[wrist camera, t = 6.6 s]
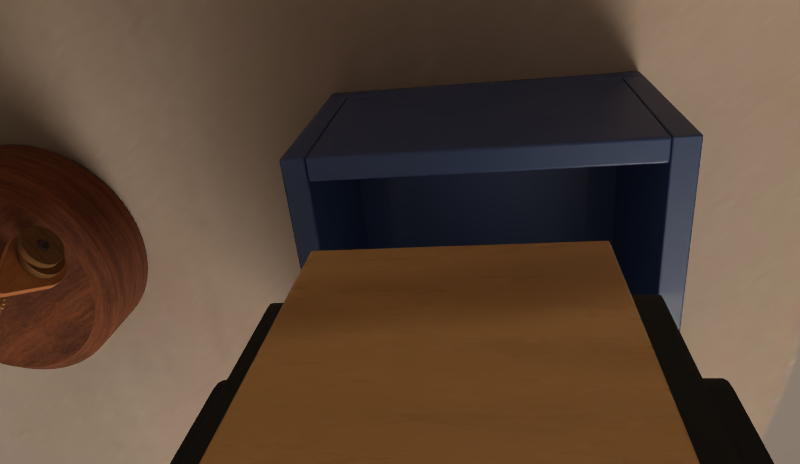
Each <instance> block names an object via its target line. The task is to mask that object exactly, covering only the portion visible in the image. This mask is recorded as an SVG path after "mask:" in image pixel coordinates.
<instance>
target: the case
mask: <svg viewBox="0 0 800 464" xmlns="http://www.w3.org/2000/svg"><path fill="white" fill-rule="evenodd" d="M702 141H703V135H702V134H701V133H700V132H699V131H698V130H697V129H696V128H695V127H694V126H693V125H692V124H691V123H690V122H689V121H688V120H687V119H686V118H685V117H684V116H683V115H682V114H681V113H680V112H679V111H678V110H677V109H676V108H675V107H674V106H673V105H672V104H671V103H670V102H669V101H668V100H667V99H666V98H665V97H664V96H663V95H662V94H661V93H660V92H659V91H658V90H657V89H656V88H655V87H654V86H653V85H652V84H651V83H650V82H649V81H648V80H647V79H646V78H645V77H644V76H643V75H642V74H641V73H640V72H639V71H634V72H621V73H607V74H593V75H580V76H566V77H552V78H539V79H525V80H512V81H498V82H484V83H471V84H457V85H444V86H430V87H416V88H403V89H389V90H375V91H362V92H348V93H335V94H332V95H331V97H330V98H329V99H328V101H327V102H326V103H325V104H324V106H323V107H322V108H321V109H320V110H319V112H318V113H317V114H316V115H315V117H314V118H313V119H312V120H311V122H310V123H309V124H308V125H307V127H306V128H305V129H304V130H303V132H302V133H301V134H300V135H299V136H298V138H297V139H296V140H295V141H294V143H293V144H292V145H291V146H290V148H289V149H288V150H287V151H286V153H285V154H284V155H283V156H282V157H281V159H280V166H281V171H282V177H283V182H284V187H285V192H286V197H287V202H288V207H289V212H290V217H291V222H292V227H293V232H294V237H295V242H296V247H297V252H298V257H299V262H300V267H301V269H302V268H303V266H304V264H305V262H306V260H307V258H308V256H309V254H310V252H312V251H327V250H356V249H384V248H412V247H441V246H469V245H497V244H526V243H554V242H582V241H609V242H610V244H611V246H612V249H613V251H614V254H615V256H616V259H617V261H618V264H619V266H620V268H621V271H622V273H623V276H624V278H625V281H626V283H627V286H628V288H629V291H630V293H631V295H661V296H662V297H663V299H664V301H665V303H666V305H667V307H668V309H669V311H670V313H671V315H672V317H673V319H674V321H675V323H676V325H677V327H678V330H679V332H680V325H681V317H682V308H683V300H684V292H685V283H686V275H687V267H688V258H689V250H690V241H691V233H692V225H693V216H694V208H695V199H696V191H697V183H698V174H699V166H700V158H701V149H702Z"/></svg>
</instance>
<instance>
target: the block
mask: <svg viewBox="0 0 800 464" xmlns="http://www.w3.org/2000/svg"><path fill="white" fill-rule="evenodd" d="M199 464H700V463H699V460H698V458H697V455H696V453H695V450H694V448H693V445H692V443H691V441H690V438H689V436H688V433H687V431H686V428H685V426H684V423H683V421H682V418H681V416H680V413H679V411H678V409H677V406H676V404H675V401H674V399H673V396H672V394H671V391H670V389H669V386H668V384H667V382H666V379H665V377H664V374H663V372H662V369H661V367H660V364H659V362H658V359H657V357H656V354H655V352H654V350H653V347H652V345H651V342H650V340H649V337H648V335H647V332H646V330H645V327H644V325H643V323H642V320H641V318H640V315H639V313H638V310H637V308H636V305H635V303H634V300H633V298H632V295H631V293H630V291H629V288H628V286H627V283H626V281H625V278H624V276H623V273H622V271H621V268H620V266H619V264H618V261H617V259H616V256H615V254H614V251H613V249H612V246H611V244H610V242H609V241H582V242H554V243H526V244H497V245H469V246H441V247H412V248H384V249H356V250H327V251H312V252H310V254H309V256H308V258H307V260H306V262H305V264H304V266H303V268H302V269H301V271H300V273H299V275H298V277H297V279H296V281H295V283H294V285H293V287H292V288H291V290H290V292H289V294H288V296H287V298H286V300H285V302H284V304H283V306H282V307H281V309H280V311H279V313H278V315H277V317H276V319H275V321H274V323H273V325H272V326H271V328H270V330H269V332H268V334H267V336H266V338H265V340H264V342H263V343H262V345H261V347H260V349H259V351H258V353H257V355H256V357H255V359H254V361H253V362H252V364H251V366H250V368H249V370H248V372H247V374H246V376H245V378H244V380H243V381H242V383H241V385H240V387H239V389H238V391H237V393H236V395H235V397H234V399H233V400H232V402H231V404H230V406H229V408H228V410H227V412H226V414H225V416H224V417H223V419H222V421H221V423H220V425H219V427H218V429H217V431H216V433H215V435H214V436H213V438H212V440H211V442H210V444H209V446H208V448H207V450H206V452H205V454H204V455H203V457H202V459H201V461H200V463H199Z"/></svg>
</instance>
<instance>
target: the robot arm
mask: <svg viewBox="0 0 800 464" xmlns="http://www.w3.org/2000/svg"><path fill="white" fill-rule="evenodd" d="M632 298H633V300H634V303H635V305H636V308H637V310H638V313H639V315H640V318H641V320H642V323H643V325H644V327H645V330H646V332H647V335H648V337H649V340H650V342H651V345H652V347H653V350H654V352H655V354H656V357H657V359H658V362H659V364H660V367H661V369H662V372H663V374H664V377H665V379H666V382H667V384H668V386H669V389H670V391H671V394H672V396H673V399H674V401H675V404H676V406H677V409H678V411H679V413H680V416H681V418H682V421H683V423H684V426H685V428H686V431H687V433H688V436H689V438H690V441H691V443H692V445H693V448H694V450H695V453H696V455H697V458H698V460H699V463H700V464H774V463H773V461H772V459H771V457H770V455H769V453H768V451H767V450H766V448H765V446H764V444H763V442H762V440H761V439H760V437H759V435H758V433H757V431H756V429H755V428H754V426H753V424H752V422H751V420H750V418H749V417H748V415H747V413H746V411H745V409H744V407H743V406H742V404H741V402H740V400H739V398H738V396H737V394H736V393H735V391H734V389H733V387H732V386H731V385H730V383H729V382H728V381H727V380H725V379H723V378H702V377H701V375H700V373H699V371H698V368H697V366H696V364H695V362H694V360H693V358H692V356H691V354H690V352H689V350H688V348H687V346H686V344H685V342H684V340H683V338H682V336H681V334H680V332H679V330H678V327H677V325H676V323H675V321H674V319H673V317H672V315H671V313H670V311H669V309H668V307H667V305H666V303H665V301H664V299H663V297H662V296H661V295H632ZM283 304H284V303H273V304H270V305H269V307H268V308H267V310H266V312H265V314H264V315H263V317H262V319H261V321H260V322H259V324H258V326H257V328H256V330H255V331H254V333H253V335H252V337H251V338H250V340H249V342H248V344H247V345H246V347H245V349H244V351H243V353H242V354H241V356H240V358H239V360H238V361H237V363H236V365H235V367H234V369H233V370H232V372H231V374H230V376H229V377H228V379H227V380H223V381H221V382H219V383H218V384H217V385H216V387H215V388H214V389H213V391H212V392H211V394H210V396H209V398H208V399H207V401H206V403H205V404H204V406H203V408H202V410H201V411H200V413H199V415H198V417H197V418H196V420H195V422H194V423H193V425H192V427H191V429H190V430H189V432H188V434H187V435H186V437H185V439H184V441H183V442H182V444H181V446H180V448H179V449H178V451H177V453H176V454H175V456H174V458H173V460H172V461H171V463H170V464H199V463H200V461H201V459H202V457H203V455H204V454H205V452H206V450H207V448H208V446H209V444H210V442H211V440H212V438H213V436H214V435H215V433H216V431H217V429H218V427H219V425H220V423H221V421H222V419H223V417H224V416H225V414H226V412H227V410H228V408H229V406H230V404H231V402H232V400H233V399H234V397H235V395H236V393H237V391H238V389H239V387H240V385H241V383H242V381H243V380H244V378H245V376H246V374H247V372H248V370H249V368H250V366H251V364H252V362H253V361H254V359H255V357H256V355H257V353H258V351H259V349H260V347H261V345H262V343H263V342H264V340H265V338H266V336H267V334H268V332H269V330H270V328H271V326H272V325H273V323H274V321H275V319H276V317H277V315H278V313H279V311H280V309H281V307H282V306H283Z"/></svg>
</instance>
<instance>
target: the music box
mask: <svg viewBox="0 0 800 464" xmlns="http://www.w3.org/2000/svg"><path fill="white" fill-rule="evenodd" d="M147 272H148V266H147V256H146V251H145V247H144V243H143V240H142V237H141V235H140V232H139V230H138V228H137V226H136V224H135V222H134V220H133V218H132V217H131V215H130V213H129V212H128V210H127V209H126V208H125V206H124V205H123V204H122V202H121V201H120V200H119V199H118V197H117V196H116V195H115V194H114V193H113V192H112V191H111V190H110V189H109V188H108V187H107V186H106V185H105V184H104V183H103V182H102V181H100V180H99V179H98V178H97V177H96V176H94V175H93V174H92V173H90V172H89V171H87V170H86V169H84V168H83V167H81V166H80V165H78V164H76V163H75V162H73V161H71V160H69V159H67V158H65V157H63V156H60V155H58V154H55V153H53V152H50V151H47V150H43V149H40V148H35V147H30V146H23V145H0V363H2V364H6V365H11V366H17V367H23V368H31V369H56V368H62V367H67V366H70V365H74V364H76V363H79V362H81V361H83V360H85V359H87V358H88V357H90V356H91V355H93V354H94V353H95V352H96V351H97V350H99V348H100V347H101V346H102V345H103V344H104V343H105V342H106V341H107V339H108V338H109V337H110V336H111V335H112V334H113V333H114V331H115V330H116V329H117V328H118V327H119V326H120V325H121V323H122V322H123V321H124V320H125V319H126V318H127V317H128V315H129V314H130V313H131V312H132V311H133V310H134V308H135V307H136V306H137V304H138V303H139V301H140V299H141V297H142V295H143V292H144V290H145V286H146V281H147Z"/></svg>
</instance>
